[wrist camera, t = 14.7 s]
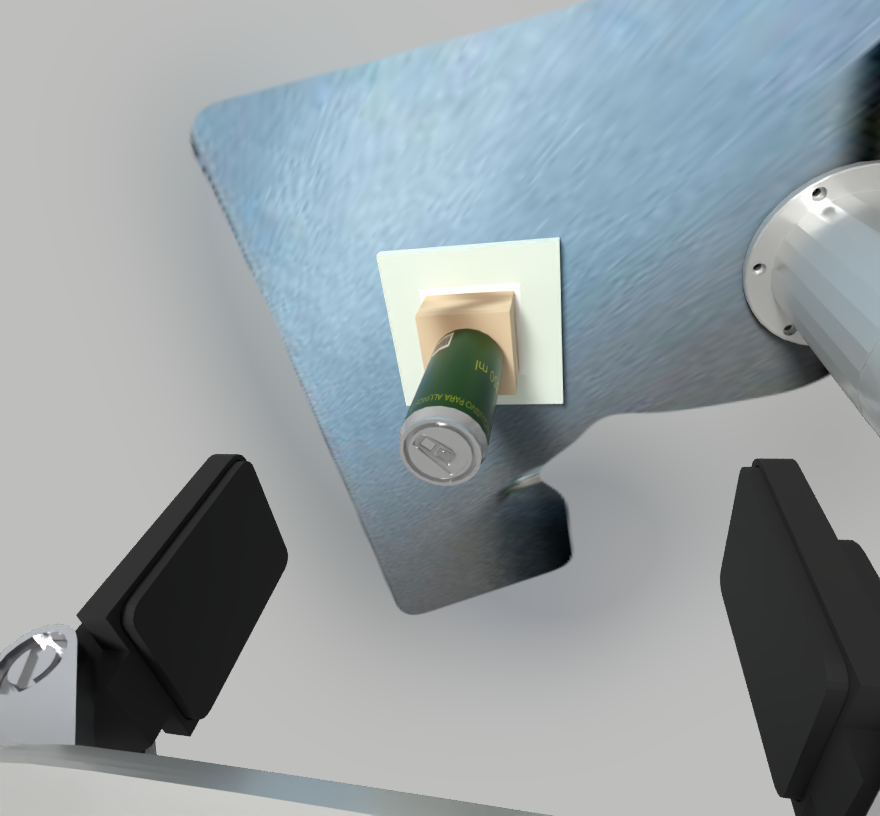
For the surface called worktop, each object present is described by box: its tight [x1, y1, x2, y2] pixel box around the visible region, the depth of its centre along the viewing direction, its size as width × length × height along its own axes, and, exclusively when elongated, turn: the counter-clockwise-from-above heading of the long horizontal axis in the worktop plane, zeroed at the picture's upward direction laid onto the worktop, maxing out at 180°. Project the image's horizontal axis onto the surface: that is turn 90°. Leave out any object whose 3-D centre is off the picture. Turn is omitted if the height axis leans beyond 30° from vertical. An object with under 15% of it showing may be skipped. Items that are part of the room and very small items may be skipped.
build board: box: [376, 237, 563, 406], centre depth 46 cm, size 14×14×1 cm
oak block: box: [415, 290, 519, 395], centre depth 44 cm, size 7×7×4 cm
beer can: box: [399, 328, 504, 486], centre depth 38 cm, size 5×5×12 cm
